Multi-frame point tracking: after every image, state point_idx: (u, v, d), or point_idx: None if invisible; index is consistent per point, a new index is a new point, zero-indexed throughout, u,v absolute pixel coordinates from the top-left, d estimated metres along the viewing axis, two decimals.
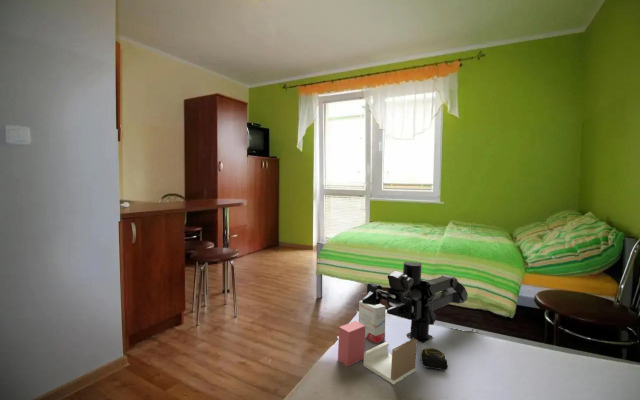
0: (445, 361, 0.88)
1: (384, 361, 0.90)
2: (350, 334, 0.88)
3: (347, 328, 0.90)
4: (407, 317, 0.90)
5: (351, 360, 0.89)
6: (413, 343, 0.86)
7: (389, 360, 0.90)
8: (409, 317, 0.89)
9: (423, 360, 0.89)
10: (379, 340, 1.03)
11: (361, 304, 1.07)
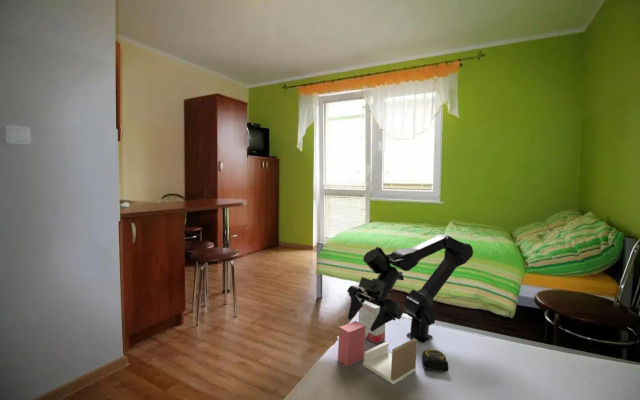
0: (446, 363, 0.87)
1: (384, 361, 0.90)
2: (350, 334, 0.88)
3: (347, 328, 0.90)
4: (391, 319, 0.92)
5: (351, 360, 0.89)
6: (413, 343, 0.86)
7: (389, 360, 0.90)
8: (393, 319, 0.92)
9: (424, 361, 0.88)
10: (379, 340, 1.03)
11: None
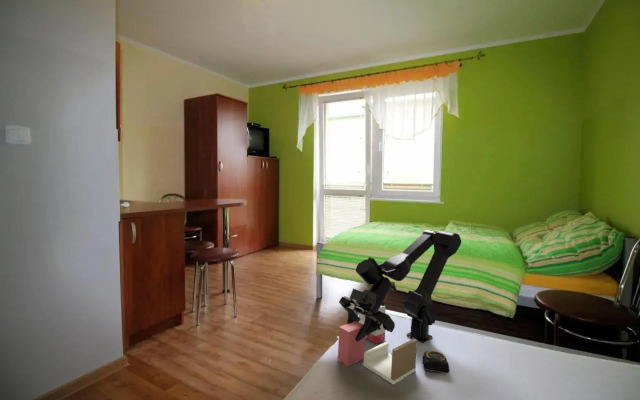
0: (447, 364, 0.86)
1: (384, 361, 0.90)
2: (350, 334, 0.88)
3: (347, 328, 0.90)
4: (377, 328, 0.92)
5: (351, 360, 0.89)
6: (413, 343, 0.86)
7: (389, 360, 0.90)
8: (378, 328, 0.92)
9: (424, 363, 0.87)
10: (379, 340, 1.03)
11: None
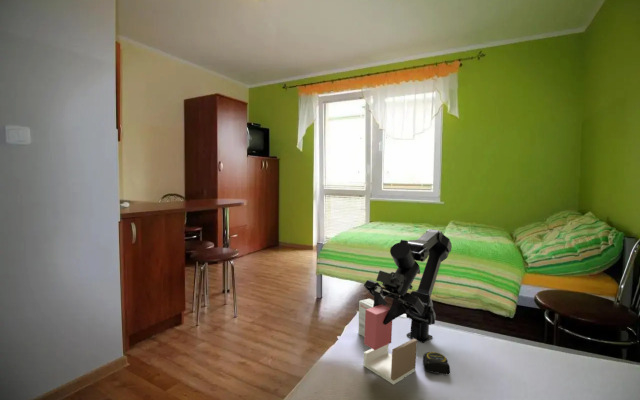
0: (447, 365, 0.85)
1: (384, 361, 0.90)
2: (377, 317, 0.85)
3: (374, 311, 0.87)
4: (405, 311, 0.88)
5: (378, 344, 0.86)
6: (413, 343, 0.86)
7: (389, 360, 0.90)
8: (407, 312, 0.88)
9: (425, 364, 0.87)
10: None
11: (361, 304, 1.07)
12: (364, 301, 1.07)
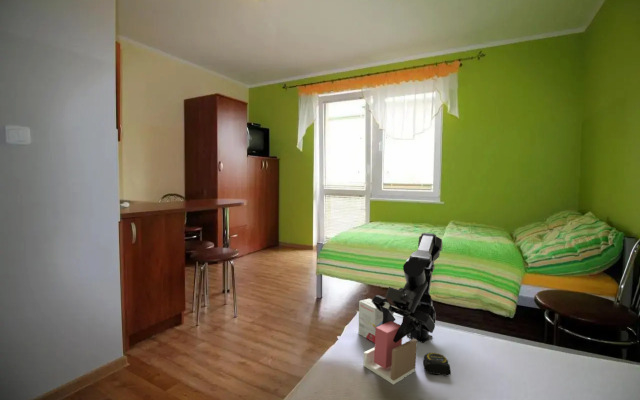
0: (448, 366, 0.85)
1: None
2: (388, 335, 0.84)
3: (384, 329, 0.85)
4: (415, 329, 0.88)
5: (389, 362, 0.85)
6: (413, 343, 0.86)
7: None
8: (417, 329, 0.87)
9: (425, 365, 0.86)
10: None
11: (361, 304, 1.07)
12: (364, 301, 1.07)
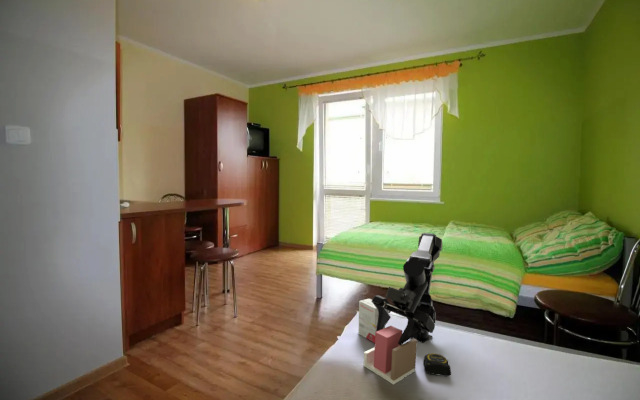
0: (448, 367, 0.85)
1: None
2: (388, 340, 0.84)
3: (384, 334, 0.86)
4: (420, 331, 0.86)
5: (389, 367, 0.85)
6: (413, 343, 0.86)
7: None
8: (422, 331, 0.86)
9: (425, 366, 0.86)
10: None
11: (361, 304, 1.07)
12: (364, 301, 1.07)
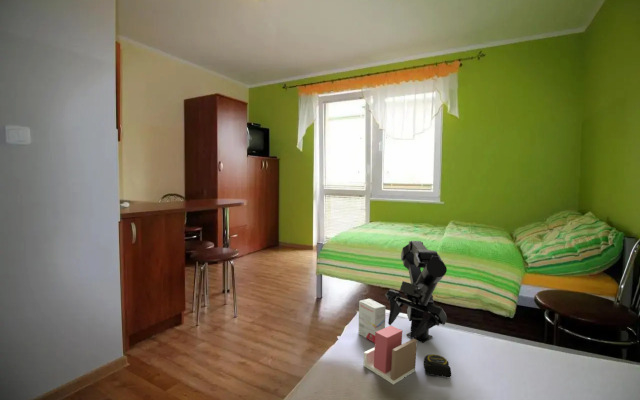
0: (449, 368, 0.84)
1: None
2: (388, 340, 0.84)
3: (384, 334, 0.86)
4: (435, 324, 0.90)
5: (389, 367, 0.85)
6: (413, 343, 0.86)
7: None
8: (437, 324, 0.90)
9: (426, 367, 0.85)
10: None
11: (361, 304, 1.07)
12: (364, 301, 1.07)
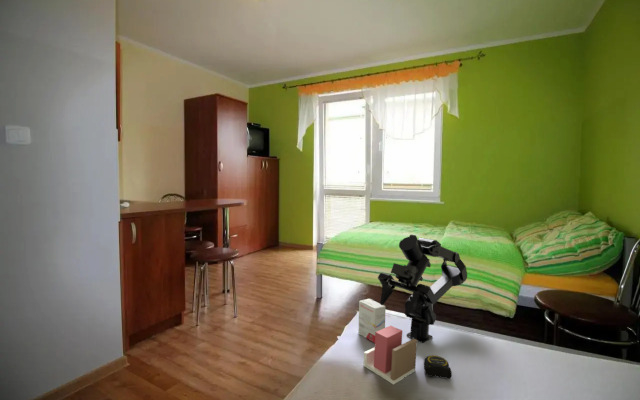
0: (449, 369, 0.84)
1: None
2: (388, 340, 0.84)
3: (384, 334, 0.86)
4: (424, 303, 0.95)
5: (389, 367, 0.85)
6: (413, 343, 0.86)
7: None
8: (426, 303, 0.95)
9: (426, 368, 0.85)
10: None
11: (361, 304, 1.07)
12: (364, 301, 1.07)
